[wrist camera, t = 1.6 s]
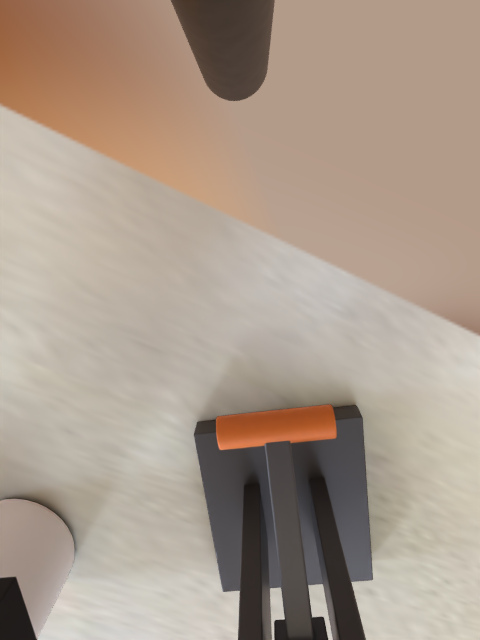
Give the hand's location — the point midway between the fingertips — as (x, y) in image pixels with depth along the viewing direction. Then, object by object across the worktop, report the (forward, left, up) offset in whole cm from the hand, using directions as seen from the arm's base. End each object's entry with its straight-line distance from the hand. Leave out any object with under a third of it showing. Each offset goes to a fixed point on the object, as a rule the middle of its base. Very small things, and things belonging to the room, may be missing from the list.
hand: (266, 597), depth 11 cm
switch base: (+9, +2, -15) cm, 18 cm away
